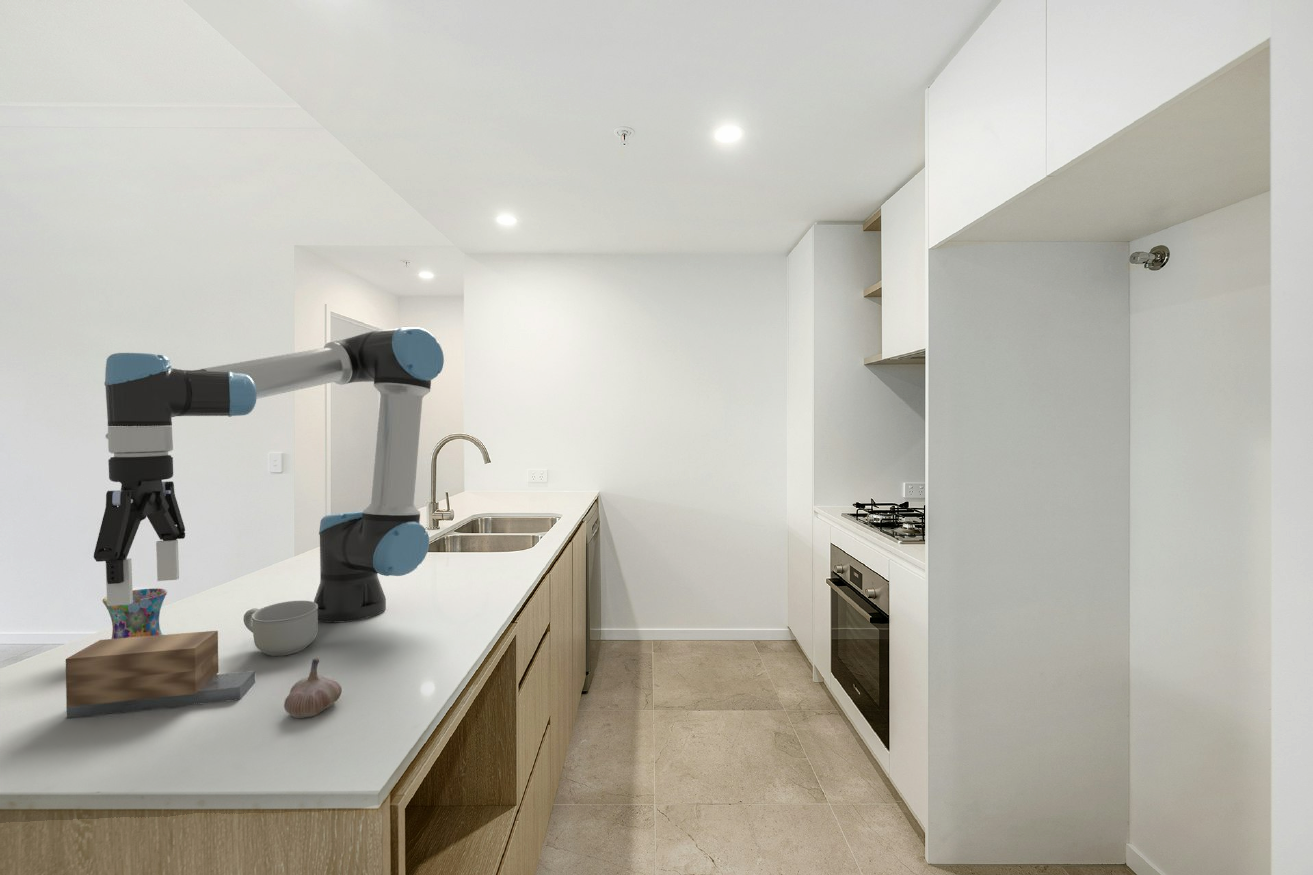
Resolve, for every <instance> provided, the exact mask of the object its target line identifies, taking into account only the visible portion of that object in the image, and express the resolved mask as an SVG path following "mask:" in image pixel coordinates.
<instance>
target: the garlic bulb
mask: <svg viewBox="0 0 1313 875" xmlns="http://www.w3.org/2000/svg"><path fill="white" fill-rule="evenodd" d="M319 663H320V658H319V657H313V658H312V660H311V666H310V671H309V675H307V677H306V676H305V677H304V678H301V679H300V680H298V681H297V682H295V684H294V685H293V686H292V687H291V688H290V691H289V694H288V695H287V696H286V698H285V700H284V704H283V707H284V710H285V712H286V713H287V714H289V715H290V716H291V717H293V718H295V719H296V718H297V719H302V718H307V717H308V718H309V717H311V718H312V717H315V716H317V715H318V714H319V715H320V714H321V713H322V712H323V711H324V710H326V708H329V707H330V706H333V704H335V702H337V701H338V700H339V698H340V697H341V695H342V686H341V684H340V683H339V682H338V681H336V680H335V679H331V678H327V677H325V676H322V675H320V674H319V675H318V666H319Z"/></svg>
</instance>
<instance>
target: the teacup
mask: <svg viewBox="0 0 1313 875" xmlns="http://www.w3.org/2000/svg"><path fill="white" fill-rule="evenodd" d="M317 609H318V605H317V603H315V602H314V601H312V600H289V601H284V602H277V603H274V604H270V605H267V606H264V607H262V608H258V607H257V608H256V607H255V608H253V607H252V608H251V609H249V610H247V611H246V612H245V613H244V615H243V623H244V626H245V628H246V629H247V630H248V631H249V632H250V633H252V636H253V642H254V646H255V647H256V649H257V650H259V651H260V652H262V653H264V654H266V655H268V656H272V657H282V656H287V655H292V654H295V653H298V652H301V651H303V650H305V649H306V648H307V646H309V645H310V644H311V643H312V642H313V641H314V640H315V638H316V636H317V634H318V628H319V625H318V624H319V623H318V622H319V621H318V612H317Z"/></svg>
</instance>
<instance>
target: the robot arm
mask: <svg viewBox="0 0 1313 875" xmlns="http://www.w3.org/2000/svg"><path fill="white" fill-rule="evenodd" d="M444 356H445V355H444V352H443V349H442V346H441V344H440V342H438V341H437V338H436V336H435V335H434V334H432V333H431V332H430V331H428V330H426V329H425V328H421V327H415V326H414V327H412V326H411V327H410V326H409V327H408V326H402V327H398V328H392V329H381V330H373V331H368V332H365V333H361V334H358V335H355V336H351V337H348V338H347V337H346V338H345V339H339V340H336V341H335V340H334V341H328V342H326V344H325V345H324V346H323V347H321V348H316V349H309V350H304V351H297V352H292V353H288V354H287V353H286V354H281V355H275V356H269V357H264V358H263V357H262V358H258V359H257V358H256V359H250V360H246V361H240V362H234V363H228V364H222V365H216V366H211V367H205V368H199V369H194V370H193V369H192V370H191V369H190V370H187V369H177V368H172V365H171V363H170V359H169V357H168V356H166V355H164V354H155V353H143V352H116V353H115V352H114V353H112V354H110V355H109V356H108V357H107V358H106V361H105V362H106V363H105V372H104V374H105V375H104V386H105V399H106V400H105V401H106V417H107V433H106V434H105V438H106V440H107V442H108V443H107V444H108V445H107V446H108V447H107V448H108V453H110V454H113V456H111V457H109V459H108V462H107V464H108V478H109V480H110V481H111V482H114V483H119V484H121V487H120V490H107V491H106V494H105V509H104V513H103V516H102V520H101V524H100V528H99V531H98V536H97V541H96V544H95V549H94V552H93V559H94V560H95V561H96V562H97V563H98V562H105V584H106V587H105V588H106V597H107V606H115V605H128V604H132V603H133V592H132V590H133V573H132V571H133V569H132V563H133V562H132V558H128V555H129V553H130V550H131V547H132V546H133V542H134V540H135V538H136V534H137V531H138V529H139V527H140V525H141V522H142V521H143V520H145V519H146V518H148V521H149V523H150V524H151V526H152V528H153V530H154V531H155V533H156V535H157V536H158V539H159V540H157V541H156V542H155V546H156V573H157V574H156V576H157V577H156V578H157V582H162V581H163V582H164V581H177V580H179V579H180V569H179V568H180V566H179V565H180V564H179V561H180V560H179V540H182V539H183V540H184V539H185V537H186V527H185V525H184V520H183V517H182V514H181V510H180V507H179V504H178V501H177V497H176V493H175V484H174V481H170V480H169V479H171V478H173V476H174V458H173V456H172V455H171V454H169V452H170V453H171V452H172V451H173V450H174V442H173V439H174V438H173V421H172V419H173V418H175V417H230V418H231V417H238V416H247V415H249V414H251V412H252V411H253V410H254V409H255V407H256V404H257V399H261V398H262V399H263V398H266V397H273V396H276V395H281V394H285V393H290V392H294V391H298V390H303V389H309V388H312V387H316V386H322V385H326V384H331V383H335V384H337V385H341V386H343V385H347V384H351V383H353V384H354V383H362V382H363V383H364V382H365V383H367V382H371V383H372V382H373V387H374V388H375V389H376V390H377V391H378V393H379V394H380V397H379V409H378V421H377V431H376V432H377V433H376V444H375V455H374V466H373V479H372V487H371V488H372V490H371V499H370V500H371V501H370V504H369V505H368V506H367V507H365V508H364V509H363V510H355V511H348V512H340V513H334V514H333V513H332V514H327V515H325V516H323V517H322V518H321V519H320V522H319V524H320V525H319V531H318V535H319V566H320V568H319V569H320V570H319V571H320V572H319V574H320V581H319V586H318V588H317V590H316V594H315V595H314V600H313V602H315V603H317V605H318V609H317V612H318V622H321V623H344V622H345V623H346V622H352V621H359V620H363V619H368V618H370V617H374V616H376V615H378V614H381V613H382V612H384V611H385V610H386V609H387V599H386V595H385V592H384V590H383V587H382V585H381V581H380V578H379V576H378V575H381V576H385V577H389V576H393V577H400V576H401V577H402V576H405V575H407V574H411V573H412V572H414V571H415V570H416V569H417V568H418V566H420V565H421V564H422V563H423V561H424V560H425V559H426V557H427V554H428V551H429V548H430V536H429V532H428V531H427V530H426V528H425V526H423V525H422V524H420V522H421V521H420V520H421V511H420V510H419V509H418V508H417V507H416V506H415V492H416V479H417V468H418V457H419V455H418V454H419V445H420V444H419V443H420V434H421V433H420V431H421V421H422V420H421V419H422V407H423V406H422V405H423V399H424V397H425V396H426V395H428V394H429V393H430V392H431V389H432V388H431V386H432V381H433V380H434V379H435V378H437V377H438V375H439V374H441V372H442V371H443V368H444V362H445V360H444V358H445V357H444ZM164 480H169V481H164Z"/></svg>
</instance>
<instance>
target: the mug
mask: <svg viewBox="0 0 1313 875" xmlns="http://www.w3.org/2000/svg"><path fill="white" fill-rule="evenodd" d="M132 592H133V603H132V604H128V605H115V606H107V596H106V597H104V598H103V599H102V603H103V605H104V606H105V607H106V610H107V611H108V615H109V616H110V619H111V625H112V631H111V632H112V633H111V638H110V639H118V638H130V637H143V636H156V635H163V633H162V630H161V627H160V626H161V625H160V613H161V610H162V606H163V604H164V603H163V602H164V600H165V598H166V596H167V595H168V590H167V589H165V588H158V587H157V588H156V587H155V588H139V589H134V590H133V589H132Z"/></svg>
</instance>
